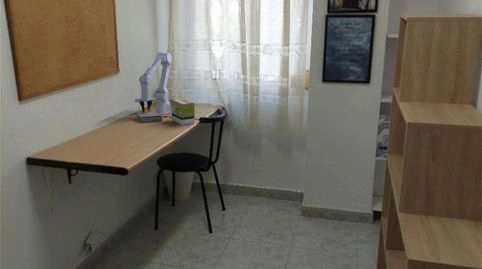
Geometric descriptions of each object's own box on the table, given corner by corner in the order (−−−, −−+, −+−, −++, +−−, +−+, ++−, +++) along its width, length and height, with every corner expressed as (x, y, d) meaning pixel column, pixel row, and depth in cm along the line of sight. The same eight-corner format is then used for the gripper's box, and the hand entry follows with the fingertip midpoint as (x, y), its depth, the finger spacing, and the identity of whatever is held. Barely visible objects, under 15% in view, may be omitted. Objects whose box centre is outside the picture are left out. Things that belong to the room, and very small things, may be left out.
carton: (156, 117, 318) (156, 113, 317) (162, 121, 308) (162, 116, 307) (136, 119, 311) (136, 114, 310) (142, 123, 301) (142, 118, 300)
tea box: (171, 120, 311) (170, 99, 307) (183, 118, 317) (183, 98, 313) (182, 125, 299) (182, 103, 295) (195, 123, 305) (195, 102, 301)
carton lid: (154, 112, 319) (154, 106, 318) (160, 115, 310) (160, 110, 308) (135, 113, 312) (135, 108, 311) (141, 117, 302) (141, 111, 301)
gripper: (137, 94, 304) (137, 113, 307) (157, 92, 311) (157, 112, 315) (133, 92, 310) (134, 111, 313) (154, 91, 317) (154, 109, 320)
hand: (145, 111), depth 314 cm, fingers closed on carton lid, 3 cm apart
